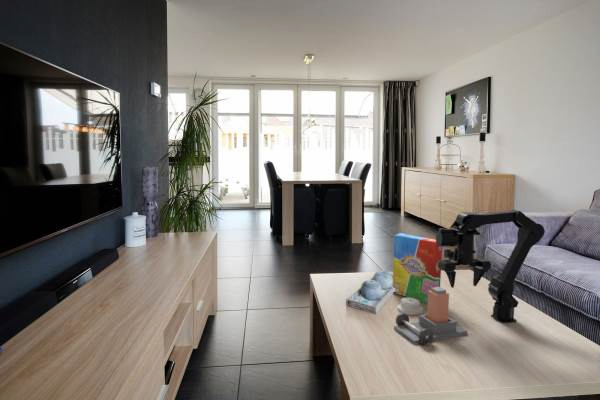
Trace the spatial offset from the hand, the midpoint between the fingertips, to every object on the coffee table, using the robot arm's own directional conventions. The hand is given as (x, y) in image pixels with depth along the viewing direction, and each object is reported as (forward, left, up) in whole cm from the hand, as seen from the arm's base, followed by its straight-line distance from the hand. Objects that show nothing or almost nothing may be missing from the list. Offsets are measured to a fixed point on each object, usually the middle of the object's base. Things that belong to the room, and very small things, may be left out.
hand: (463, 286), depth 147 cm
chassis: (+17, +8, -13) cm, 23 cm away
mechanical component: (+15, -12, -14) cm, 24 cm away
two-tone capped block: (+14, +7, -12) cm, 20 cm away
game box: (+7, -25, -13) cm, 29 cm away
